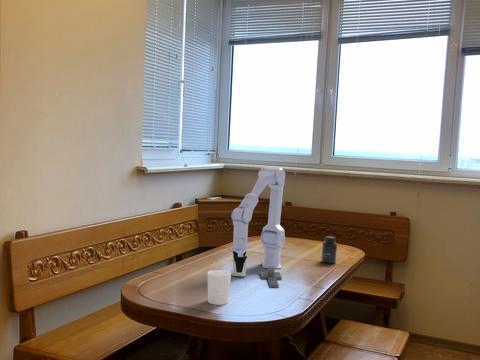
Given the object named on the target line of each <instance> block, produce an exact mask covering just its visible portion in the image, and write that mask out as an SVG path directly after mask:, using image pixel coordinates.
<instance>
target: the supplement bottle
mask: <svg viewBox="0 0 480 360" xmlns="http://www.w3.org/2000/svg"><path fill="white" fill-rule="evenodd" d="M321 247H322V248H321V259H320V260H321V263H323V262H324V264H327V263H334V264H336V262H337V255H338V253H337V250H338V244H337V242H336V236H331V235H328V236H325V237H324V242H322V245H321Z"/></svg>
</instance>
